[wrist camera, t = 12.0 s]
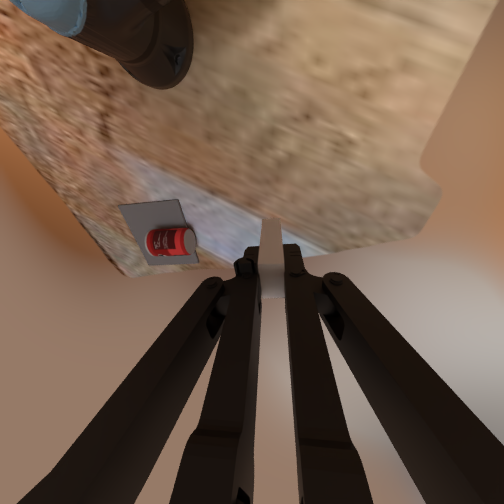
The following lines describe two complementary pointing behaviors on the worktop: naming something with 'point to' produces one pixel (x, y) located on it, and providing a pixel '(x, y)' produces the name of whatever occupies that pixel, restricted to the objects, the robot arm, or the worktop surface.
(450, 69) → the worktop surface
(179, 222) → the rubber mat
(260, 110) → the worktop surface
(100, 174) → the worktop surface
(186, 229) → the canned food
